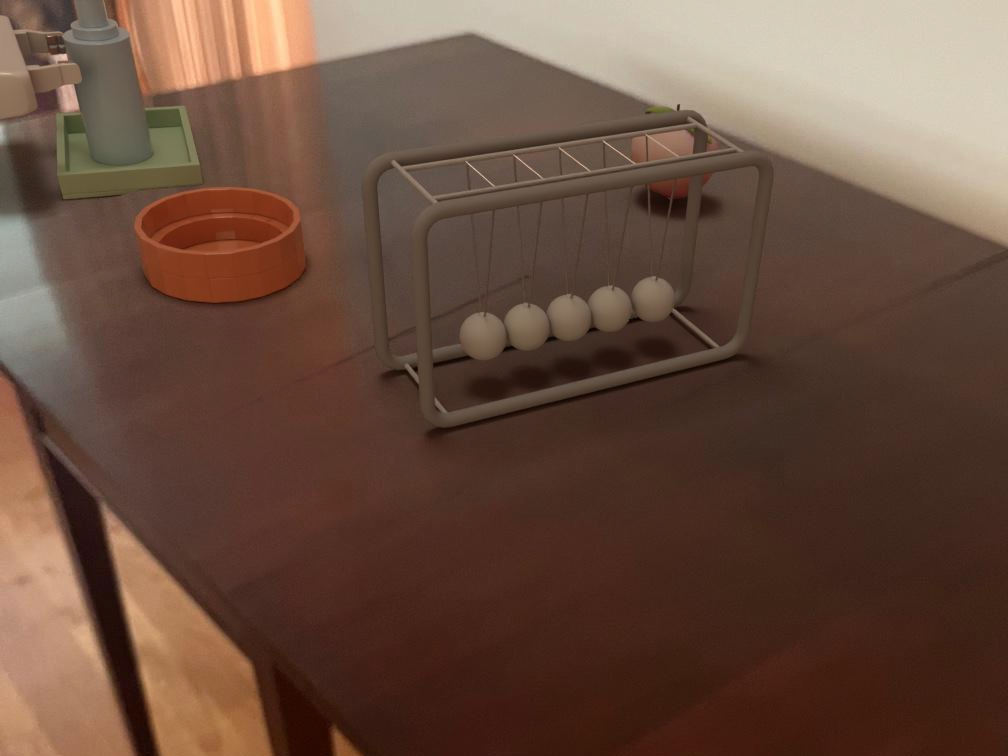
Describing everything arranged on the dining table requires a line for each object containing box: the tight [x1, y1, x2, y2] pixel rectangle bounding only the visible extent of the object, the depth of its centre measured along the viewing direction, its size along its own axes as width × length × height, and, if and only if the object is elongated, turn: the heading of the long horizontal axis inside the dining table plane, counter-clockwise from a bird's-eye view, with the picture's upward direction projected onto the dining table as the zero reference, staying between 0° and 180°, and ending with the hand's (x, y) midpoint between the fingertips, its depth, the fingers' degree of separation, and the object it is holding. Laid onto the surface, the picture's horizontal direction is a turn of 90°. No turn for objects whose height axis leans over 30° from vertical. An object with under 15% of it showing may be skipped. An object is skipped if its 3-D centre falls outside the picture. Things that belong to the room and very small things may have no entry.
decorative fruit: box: [630, 103, 720, 200], centre depth 121 cm, size 9×8×10 cm
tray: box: [55, 105, 204, 200], centre depth 124 cm, size 18×14×2 cm
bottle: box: [62, 0, 154, 165], centre depth 120 cm, size 6×6×16 cm
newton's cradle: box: [361, 109, 775, 429], centre depth 92 cm, size 30×10×18 cm, turn 119°
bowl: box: [133, 186, 307, 304], centre depth 106 cm, size 14×14×5 cm
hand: (73, 56), depth 116 cm, fingers open, 8 cm apart
